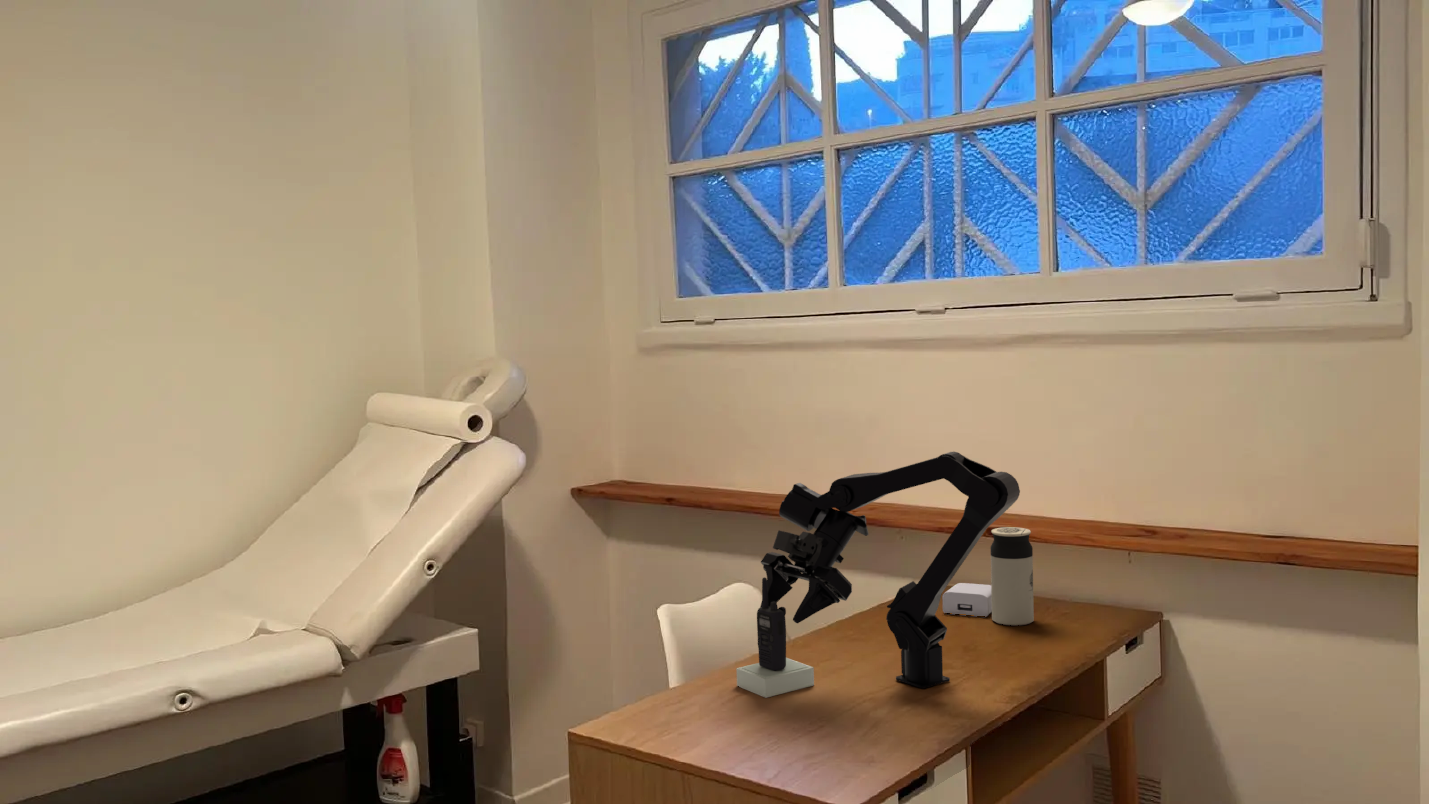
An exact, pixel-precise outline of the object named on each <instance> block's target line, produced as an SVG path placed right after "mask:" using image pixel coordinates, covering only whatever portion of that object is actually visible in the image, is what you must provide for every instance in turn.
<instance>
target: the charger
mask: <svg viewBox="0 0 1429 804" xmlns="http://www.w3.org/2000/svg"><path fill="white" fill-rule="evenodd" d="M941 598H942V613H944V614H945V613H952V614H951V615H955V614H966V615H974V616H973V617H977V616H985V617H984V618H986V617H988V616H989V615H990V614H992V597H991V584H982V583H979V584H978V583H968V582H958V583H956V584H955V585H953V586H951V588H949V589H947V590H946V591H945V592H944V593H942V594H941ZM966 615H965V616H966Z"/></svg>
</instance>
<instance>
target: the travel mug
mask: <svg viewBox="0 0 1429 804" xmlns="http://www.w3.org/2000/svg"><path fill="white" fill-rule="evenodd" d="M990 532H991V533H992V536H993V541H992V543H991V545H990V547H989V549H990V583H991V584H990V585H991V597H992V612H991V620H992V621H993V622H994V623H996V624H999V625H1002V624H1003V625H1004V626H1010V625H1011V626H1012V627H1013V626H1014V627H1015V626H1017V627H1018V625H1019V626H1027V625H1029V624H1031V623H1032V622H1034V619H1035V618H1034V616H1035V615H1034V614H1035V613H1034V612H1035V611H1034V607H1035V606H1034V563H1033V562H1034V557H1033V556H1034V553H1033V551H1034V550H1033V546H1032V544H1031V542H1030V535H1031V533H1032V531H1031V530H1030V529H1029V528H1023V527H1010V526H1008V527H998V528H997V527H996V528H993V529H991V531H990ZM1011 626H1010V627H1011Z"/></svg>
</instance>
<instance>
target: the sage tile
mask: <svg viewBox="0 0 1429 804" xmlns="http://www.w3.org/2000/svg"><path fill="white" fill-rule="evenodd" d="M735 670H736V686H737V687H738V686H739V688H742V689H743V690H746V691H748V692H751V693H754V694H755V695H758V696H760V697H763V698H770V697H774V696H777V695H781V694H786V693H789V692H793V691H798V690H802V689H805V688H809V687H812V686H815V673H814V672H815V669H814V666H811V665H807V664H805V663H802V662H800V661H796V660H793V659H791V658H789V657H786V667H785V668H784V669H781V670H777V671H774V670H771V669H768V668H765V667H762V666H760V665H759V662H757V663H752V664H748V665H745V666H740V667H737V668H736V669H735Z"/></svg>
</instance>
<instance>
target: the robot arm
mask: <svg viewBox="0 0 1429 804" xmlns="http://www.w3.org/2000/svg"><path fill="white" fill-rule="evenodd" d="M939 480H946V481H948V482H949V483H950V484H951V485H953V486H954V487H955V488H956V489H957V490H958V491H959V492H960V493H962V494H963V495H965V496H967V497H968V498H967V500H966V502H965V505H964V510H963V515H962V517H961V519H960V521H959V522H958V523H957V525H956V526H955V528H954V529H953V530H952V533H951V534H950V535H949V536H948V538H947V540H946V541H945V542H944V544H943V546H942V547H941V548H940V550H939V551H938V552H937V555H936V556H935V557H934V559H933V560H932V561H931V563H930V565H929V566H928V567H927V569H926V570H925V572H924V573H923V574H922V576H921V578H920V579H919V581H918V583H916V582H915V581H914V580H913V581H911V582H909V583H907V584H905V585H903V586H902V587H900V588H899V589H898V591H897V592H896V595H895V597H894V599H893V601H891V603H889V604H887V605H886V608H887V609H889V610H888V611H887V613H886V619H885V620H886V622H887V626H888V628H889V630H890V632H891V633H892V634H893V636H894V637H895V640H896V643H897V646H898V649H899V650H901V651H900V656H901V657H900V659H901V660H900V662H901V668H900V669H901V675H897V676H895V680H896V681H899V682H902V683H903V684H908V685H911V686H913V687H917V688H919V689H925V688H930V687H933V686H937V685H940V684H944V683H947V682H950V681H951V678H950V677H948V676H944V675H943V674H944V673H943V646H942V645H940V642H941V641H943V640H944V639H945V637H946V635H947V631H948V627H947V626H946V625H945V624H944V623H943V622H942V621H941V620H940V619H939V618H938V617H937V616H936V613H937V611H938V608H939V606H940V603H941V598H942V595H943V592H944V591H945V590H946V588H947V587H948V585H949V583H950V582H951V581H952V579H953V578H954V576H955V575H956V573H957V572H958V571H959V569H960V568H961V566H962V565H963V564H964V561H965V560H966V559H967V558H968V557H969V554H970V553H971V552H972V550H973V549H974V547H975V546H976V545H977V543H978V541H979V540H981V537H983V534H985V532H986V530H987V529H988V528H989V527H990V526H991V525H992V524H993V523H995V522H996V521H997V520H998V519H999V518H1000V517H1001V516H1002V515H1004V514H1005V513H1006V512H1007V510H1009V509H1010V508H1011V507H1012V506H1013V505H1014V504H1015V503H1016V502H1017V500H1018V499H1019V496H1020V493H1021V490H1020V485H1019V482H1018V481H1017V479H1016V478H1015V477H1014V476H1013V475H1012V474H1011V473H1009V472H1006V471H996V470H995V469H993V468H991V467H989V466H987V465H984V464H982V463H979V462H978V461H974V460H972V459H969V458H968V457H966V456H965V455H962V454H961V453H959V452H957V451H949V452H946V453H942V454H940V455H939V456H936V457H933V458H930V459H927V460H923V461H920V462H915V463H912V464H908V465H906V466H902V467H898V468H895V469H891V470H887V471H883V472H881V471H880V472H864V473H854V474H851V475H847V476H844V477H841V478H837V479H836V480H834V481H833V482H832V483H831V485H830V487H829V489H828V491H827V492H825V493H823V494H820V493H818V492H816V491H815V490H813V489H810V488H809V487H808V486H807V485H805V484H803V483H801V482H798V483H795V484H793V486H792V488H791V490H790V491H789V492H788V493H787V494H786V496H785V497H784V499H783V500H782V501H781V504H780V506H779V512H778V513H779V514H778V515H779V517H780V518H782V519H784V520H786V521H789V522H790V523H791V524H794V525H796V526H797V527H799V528H800V529H803V530H804V531H802V532H801V533H800V534H795V533H791V532H787V531H784V530H778V531H777V533H776V536H775V540H774V543H773V546H772V549H773V550H776V551H778V550H780V551H781V552H784V553H786V554H788V556H786V555H785V554H781V553H777V552H773V551H771V552H767V553H765V555H764V556H763V558H762V559H761V561H760V564H761V565H762V566H763V567H762V568H763V570H764V571H765V574H766V579H767V589H768V606H769V607H770V605H771V602H773V601H775V602H777V603H778V602H779V601H780V600H781V599H782V598H784V596H786V594H788V593H789V592H790V591H791V590H793V586H792V585H794V584H795V583H796V582H797V581H798V580H799V579H801V580H802V581H803V580H804V581H807V582H808V591H806V594H805V596H804V598H803V599H802V601H801V603H800V605H799V607H798V608H797V610H796V611H795V613H794V615H793V617H792V621H793V622H794V623H795V624H799V623H802V622H803V621H804V620H806V619H808V618H810V617H811V616H813V615H815V614H816V613H818V612H820V611H822V610H824V609H826V608H828V607H830V606H832V605H833V604H836V603H837V604H839V603H840V602H841V600H842V601H846V602H847V601H848V599H849V597H850V596H851V594H852V593H853V584H852V583H851V581H849V580H848V578H847V577H845V575H844V574H843V573H842V572H841V571H840V570H839V569H838V567H833V566H834V565H835V564H836V563H838V564H841V563H842V562H843V560H844V557H843V556H842V555H841V554H842V553H843V551H844V549H846V546H847V545H848V543H849V542H850V540H851V539H852V538H853V536H854V535H855V533H856V532H857V533H859V534H861V535H863V536H869V530H868V526H867V517H866V515H865V514H864V515H854V514H852V513H850V512H851V511H854V510H857V509H860V508H863V507H865V506H867V505H870V504H871V503H873V502H875V501H877V500H879V499H881V498H883V497H885V496H887V495H889V494H892V493H895V492H899V491H902V490H903V491H904V490H906V489H910V488H914V487H918V486H921V485H925V484H928V483H932V482H936V481H939ZM813 529H815V531H814V532H813V533H811V532H810V531H811V530H813ZM788 558H789V559H788ZM791 561H792V562H791ZM793 562H794V564H793ZM761 607H762V601H761V603H760V606H759V608H761Z"/></svg>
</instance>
